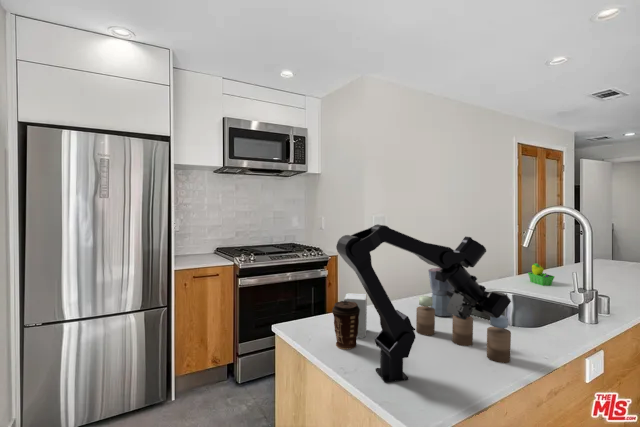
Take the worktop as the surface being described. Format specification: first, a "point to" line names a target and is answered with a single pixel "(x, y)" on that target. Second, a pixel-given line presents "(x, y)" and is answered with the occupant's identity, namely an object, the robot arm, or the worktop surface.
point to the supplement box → (362, 304)
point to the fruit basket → (540, 276)
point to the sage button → (425, 301)
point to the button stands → (467, 334)
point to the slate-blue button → (499, 322)
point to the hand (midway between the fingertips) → (492, 315)
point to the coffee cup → (346, 324)
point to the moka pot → (439, 294)
